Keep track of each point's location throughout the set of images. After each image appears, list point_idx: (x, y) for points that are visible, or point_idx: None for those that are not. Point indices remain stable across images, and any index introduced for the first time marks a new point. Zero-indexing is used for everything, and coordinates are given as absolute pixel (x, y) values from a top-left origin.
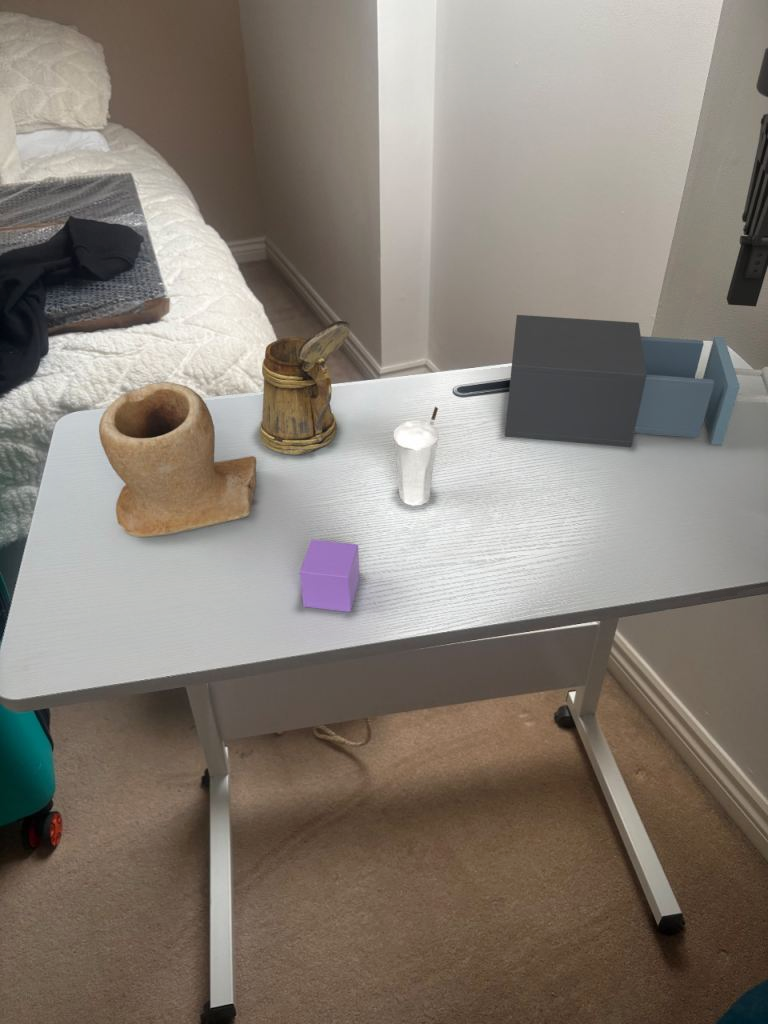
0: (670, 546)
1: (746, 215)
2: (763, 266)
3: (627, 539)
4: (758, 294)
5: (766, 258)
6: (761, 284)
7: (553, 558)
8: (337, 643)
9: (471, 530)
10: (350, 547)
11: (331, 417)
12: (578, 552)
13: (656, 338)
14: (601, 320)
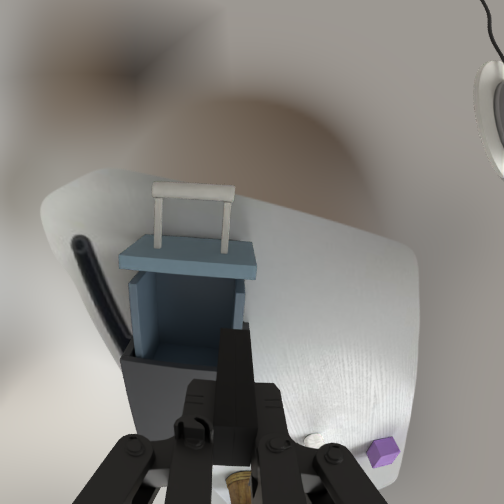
0: (381, 305)
1: (160, 487)
2: (282, 405)
3: (371, 333)
4: (249, 345)
5: (284, 418)
6: (251, 358)
7: (380, 372)
8: (406, 433)
9: (348, 412)
10: (382, 457)
11: (248, 481)
12: (378, 360)
13: (136, 337)
14: (127, 392)
